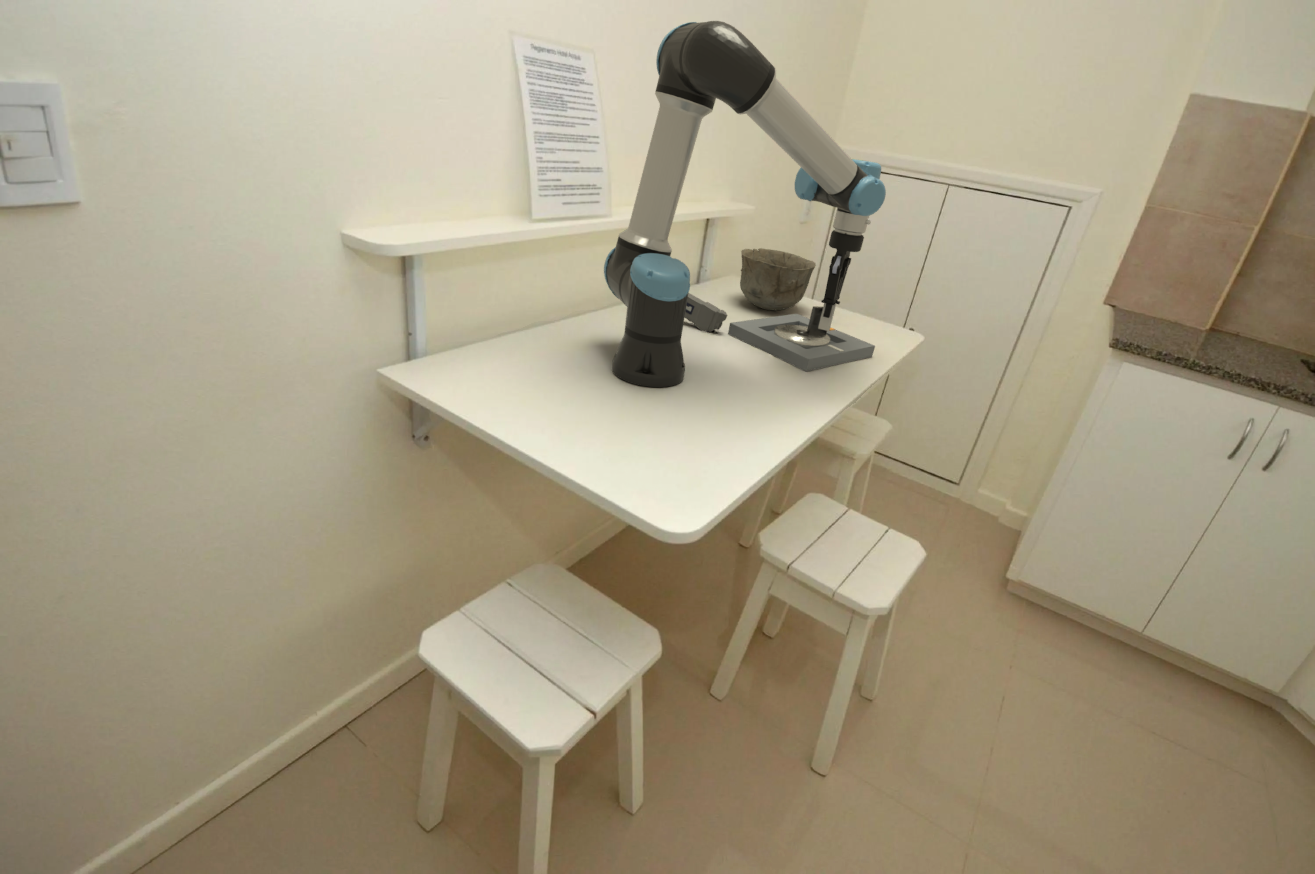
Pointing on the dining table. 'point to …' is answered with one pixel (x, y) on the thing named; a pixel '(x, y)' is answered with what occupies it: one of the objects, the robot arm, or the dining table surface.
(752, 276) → the bowl
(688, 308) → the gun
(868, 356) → the panel
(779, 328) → the dial
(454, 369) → the dining table surface
